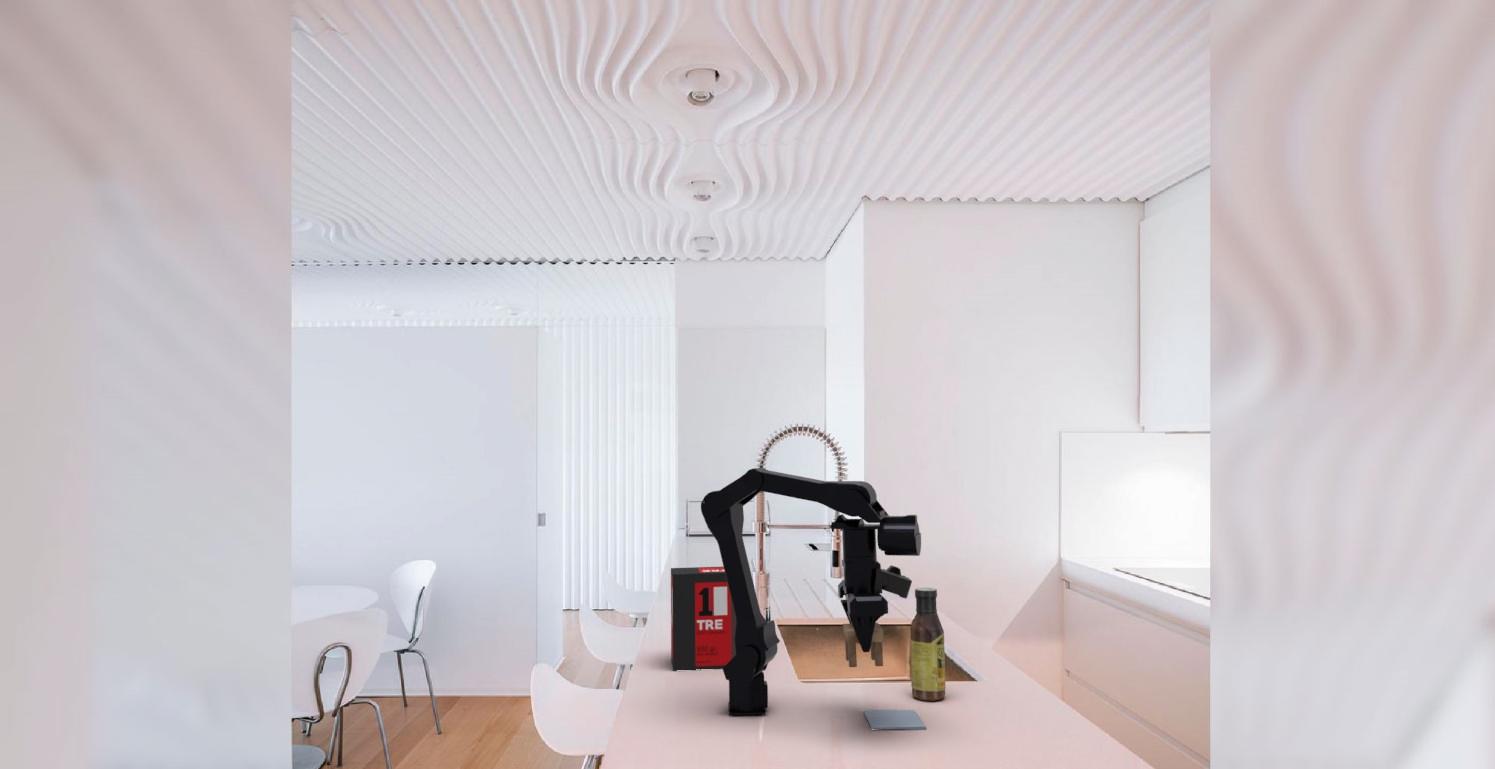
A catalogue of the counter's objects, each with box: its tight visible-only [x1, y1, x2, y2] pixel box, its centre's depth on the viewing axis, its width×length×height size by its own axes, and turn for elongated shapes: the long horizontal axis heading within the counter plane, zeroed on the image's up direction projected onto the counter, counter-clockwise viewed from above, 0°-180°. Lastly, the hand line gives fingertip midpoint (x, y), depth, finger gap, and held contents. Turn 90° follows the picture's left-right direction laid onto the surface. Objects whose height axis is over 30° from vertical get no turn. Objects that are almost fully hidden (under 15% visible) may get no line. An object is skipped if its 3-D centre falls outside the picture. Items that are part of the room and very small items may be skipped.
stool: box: [842, 622, 884, 668], centre depth 147 cm, size 6×6×6 cm
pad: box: [863, 709, 927, 730], centre depth 148 cm, size 9×9×1 cm
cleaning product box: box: [670, 566, 736, 672], centre depth 186 cm, size 16×9×20 cm, turn 98°
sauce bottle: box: [909, 587, 946, 702], centre depth 161 cm, size 6×6×20 cm
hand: (863, 647), depth 147 cm, fingers closed on stool, 6 cm apart
